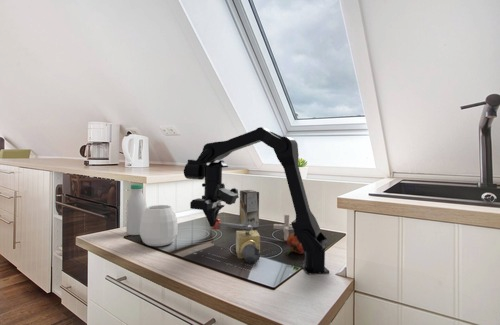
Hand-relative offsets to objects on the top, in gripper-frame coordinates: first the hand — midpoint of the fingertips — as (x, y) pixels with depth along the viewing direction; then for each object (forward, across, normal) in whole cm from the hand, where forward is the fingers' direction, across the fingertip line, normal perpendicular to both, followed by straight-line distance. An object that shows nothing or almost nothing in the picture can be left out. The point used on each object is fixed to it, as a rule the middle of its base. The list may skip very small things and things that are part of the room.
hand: (212, 226), depth 99 cm
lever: (+1, +3, -6) cm, 7 cm away
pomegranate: (+9, +11, -27) cm, 30 cm away
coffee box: (+8, +38, +3) cm, 39 cm away
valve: (+8, +3, -12) cm, 15 cm away
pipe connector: (+8, +24, -20) cm, 32 cm away
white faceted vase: (+9, -1, +22) cm, 24 cm away
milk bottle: (+9, +6, +39) cm, 41 cm away
